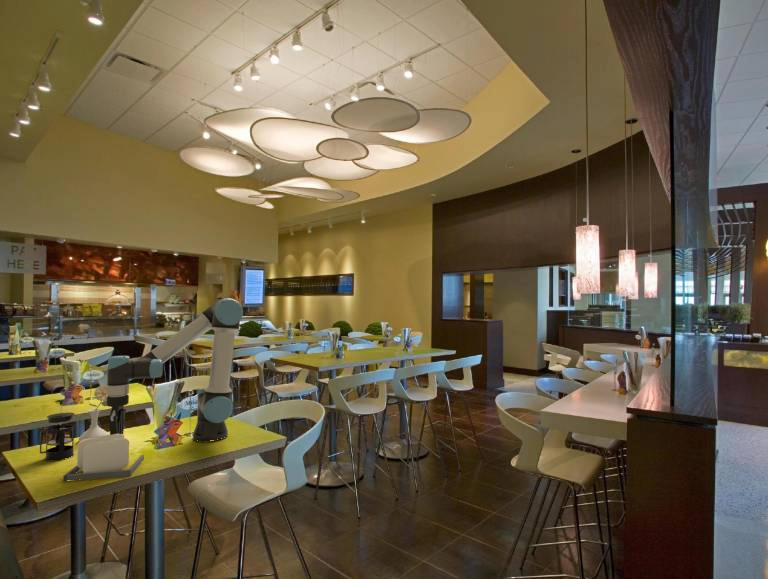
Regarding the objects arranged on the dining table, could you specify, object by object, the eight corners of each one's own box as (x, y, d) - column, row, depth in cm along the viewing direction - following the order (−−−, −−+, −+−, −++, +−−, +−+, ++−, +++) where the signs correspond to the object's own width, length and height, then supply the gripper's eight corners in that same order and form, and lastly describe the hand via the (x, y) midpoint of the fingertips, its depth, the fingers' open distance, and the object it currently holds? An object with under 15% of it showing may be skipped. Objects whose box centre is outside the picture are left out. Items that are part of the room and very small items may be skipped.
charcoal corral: (143, 460, 174) (144, 454, 174) (130, 475, 158) (130, 470, 158) (83, 464, 169) (83, 459, 169) (63, 481, 153) (63, 475, 153)
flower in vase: (77, 446, 192) (79, 388, 193) (79, 439, 202) (81, 384, 203) (112, 441, 198) (113, 385, 199) (113, 435, 208) (114, 382, 209)
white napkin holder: (80, 479, 154) (81, 446, 155) (76, 471, 162) (77, 439, 163) (128, 469, 164) (129, 437, 165) (123, 461, 172) (123, 431, 173)
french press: (73, 451, 185) (75, 396, 186) (77, 456, 178) (79, 399, 179) (38, 457, 177) (40, 400, 178) (41, 464, 170) (42, 403, 171)
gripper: (113, 392, 181) (111, 450, 180) (101, 398, 168) (99, 461, 167) (133, 391, 182) (132, 449, 181) (123, 397, 170) (121, 459, 169)
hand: (116, 455), depth 174 cm, fingers closed
